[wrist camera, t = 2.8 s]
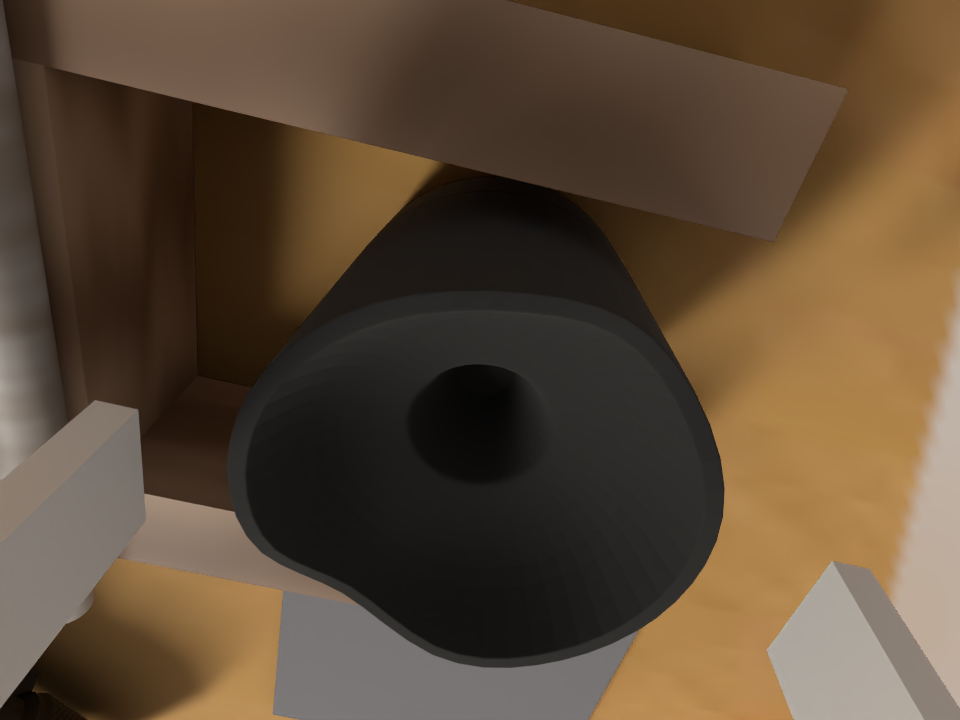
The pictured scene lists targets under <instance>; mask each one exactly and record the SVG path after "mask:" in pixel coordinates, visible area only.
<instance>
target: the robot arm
mask: <svg viewBox="0 0 960 720" xmlns="http://www.w3.org/2000/svg"><path fill="white" fill-rule="evenodd" d="M145 521H146V512H145V498H144V484H143V470H142V456H141V442H140V427H139V413H138V409H133V408H129V407H124V406H120V405H115V404H110V403H106V402H101V401H97V400H95V401H94V402H92V403H91V404H90V405H89V406H88V407H87V408H85V409H84V410H83V411H82V412H81V413H80V414H78V415H77V416H76V417H75V418H74V419H73V420H71V421H70V422H69V423H68V424H67V425H66V426H64V427H63V428H62V429H61V430H60V431H59V432H57V433H56V434H55V435H54V436H53V437H52V438H50V439H49V440H48V441H47V442H46V443H45V444H43V445H42V446H41V447H40V448H39V449H38V450H36V451H35V452H34V453H33V454H32V455H30V456H29V457H28V458H27V459H26V460H25V461H23V462H22V463H21V464H20V465H19V466H18V467H16V468H15V469H14V470H13V471H12V472H11V473H9V474H8V475H7V476H6V477H5V478H4V479H2V480H1V481H0V708H1V707H2V705H3V704H4V703H5V702H6V700H7V699H8V698H9V696H10V695H11V694H12V693H13V691H14V690H15V689H16V687H17V686H18V685H19V684H20V682H21V681H22V680H23V678H24V677H25V676H26V675H27V673H28V672H29V671H30V669H31V668H32V667H33V666H34V664H35V663H36V662H37V660H38V659H39V658H40V656H41V655H42V654H43V653H44V651H45V650H46V649H47V647H48V646H49V645H50V644H51V642H52V641H53V640H54V638H55V637H56V636H57V635H58V633H59V632H60V631H61V629H62V628H63V627H64V626H65V624H66V623H67V622H68V620H69V619H70V618H71V617H72V615H73V614H74V613H75V611H76V610H77V609H78V608H79V606H80V605H81V604H82V602H83V601H84V600H85V599H86V597H87V596H88V595H89V593H90V592H91V591H92V590H93V588H94V587H95V586H96V584H97V583H98V582H99V581H100V579H101V578H102V577H103V575H104V574H105V573H106V572H107V570H108V569H109V568H110V566H111V565H112V564H113V562H114V561H115V560H116V559H117V557H118V556H119V555H120V553H121V552H122V551H123V550H124V548H125V547H126V546H127V544H128V543H129V542H130V541H131V539H132V538H133V537H134V535H135V534H136V533H137V532H138V530H139V529H140V528H141V526H142V525H143V524H144V523H145ZM767 653H768V655H769V658H770V660H771V663H772V665H773V668H774V671H775V673H776V676H777V678H778V681H779V683H780V686H781V688H782V691H783V694H784V696H785V699H786V701H787V704H788V706H789V709H790V711H791V714H792V717H793V719H794V720H960V708H959V707H958V705H957V704H956V702H955V701H954V699H953V697H952V696H951V694H950V693H949V691H948V690H947V689H946V687H945V685H944V684H943V682H942V680H941V679H940V677H939V676H938V675H937V673H936V671H935V670H934V668H933V666H932V665H931V664H930V662H929V660H928V659H927V657H926V655H925V654H924V653H923V651H922V649H921V648H920V646H919V645H918V643H917V641H916V640H915V639H914V637H913V635H912V634H911V632H910V631H909V629H908V627H907V626H906V624H905V623H904V621H903V620H902V618H901V617H900V615H899V613H898V612H897V610H896V609H895V607H894V606H893V604H892V603H891V601H890V599H889V598H888V596H887V595H886V593H885V592H884V590H883V589H882V587H881V585H880V584H879V582H878V581H877V579H876V578H875V576H874V575H873V573H872V571H871V570H870V569H867V568H862V567H858V566H853V565H849V564H844V563H839V562H835V561H831V563H830V564H829V566H828V567H827V568H826V570H825V571H824V572H823V574H822V575H821V577H820V578H819V579H818V581H817V582H816V583H815V585H814V586H813V587H812V589H811V590H810V592H809V593H808V594H807V596H806V597H805V598H804V600H803V601H802V603H801V604H800V605H799V607H798V608H797V609H796V611H795V612H794V614H793V615H792V616H791V618H790V619H789V620H788V622H787V623H786V624H785V626H784V627H783V629H782V630H781V631H780V633H779V634H778V635H777V637H776V638H775V640H774V641H773V642H772V644H771V645H770V646H769V648H768V649H767Z"/></svg>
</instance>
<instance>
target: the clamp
mask: <svg viewBox="0 0 960 720" xmlns="http://www.w3.org/2000/svg"><path fill="white" fill-rule="evenodd" d="M847 91H848V89H847V88H843V87H839V86H835V85H831V84H828V83H824V82H820V81H816V80H812V79H808V78H804V77H801V76H797V75H793V74H789V73H785V72H781V71H777V70H774V69H770V68H766V67H762V66H758V65H754V64H750V63H747V62H743V61H739V60H735V59H731V58H727V57H723V56H720V55H716V54H712V53H708V52H704V51H700V50H696V49H693V48H689V47H685V46H681V45H677V44H673V43H669V42H666V41H662V40H658V39H654V38H650V37H646V36H642V35H639V34H635V33H631V32H627V31H623V30H619V29H616V28H612V27H608V26H604V25H600V24H596V23H592V22H589V21H585V20H581V19H577V18H573V17H569V16H565V15H562V14H558V13H554V12H550V11H546V10H542V9H538V8H535V7H531V6H527V5H523V4H519V3H515V2H511V1H508V0H0V481H1V480H2V479H4V478H5V477H6V476H7V475H8V474H9V473H11V472H12V471H13V470H14V469H15V468H16V467H18V466H19V465H20V464H21V463H22V462H23V461H25V460H26V459H27V458H28V457H29V456H30V455H32V454H33V453H34V452H35V451H36V450H38V449H39V448H40V447H41V446H42V445H43V444H45V443H46V442H47V441H48V440H49V439H50V438H52V437H53V436H54V435H55V434H56V433H57V432H59V431H60V430H61V429H62V428H63V427H64V426H66V425H67V424H68V423H69V422H70V421H71V420H73V419H74V418H75V417H76V416H77V415H78V414H80V413H81V412H82V411H83V410H84V409H85V408H87V407H88V406H89V405H90V404H91V403H92V402H94V401H95V400H97V401H101V402H106V403H110V404H115V405H120V406H124V407H129V408H133V409H138V413H139V427H140V442H141V456H142V470H143V484H144V498H145V512H146V521H145V523H144V524H143V525H142V526H141V528H140V529H139V530H138V532H137V533H136V534H135V535H134V537H133V538H132V539H131V541H130V542H129V543H128V544H127V546H126V547H125V548H124V550H123V551H122V552H121V553H120V555H119V556H118V557H117V558H121V559H126V560H131V561H136V562H141V563H146V564H151V565H157V566H162V567H167V568H172V569H177V570H182V571H187V572H192V573H197V574H202V575H207V576H212V577H218V578H223V579H228V580H233V581H238V582H243V583H248V584H253V585H258V586H263V587H268V588H273V589H279V590H284V591H289V592H294V593H299V594H304V595H309V596H314V597H319V598H324V599H329V600H335V601H340V602H345V603H350V604H355V605H359V604H357V603H356V602H354V601H353V600H352V599H350V598H349V597H347V596H346V595H344V594H343V593H341V592H339V591H337V590H335V589H333V588H331V587H329V586H327V585H325V584H323V583H321V582H319V581H316V580H314V579H311V578H309V577H307V576H304V575H302V574H300V573H297V572H295V571H293V570H291V569H289V568H286V567H284V566H282V565H280V564H278V563H277V562H275V561H274V560H272V559H270V558H269V557H267V556H266V555H264V554H262V553H261V552H260V551H259V550H258V548H257V547H256V546H255V545H254V544H253V543H252V542H251V541H250V540H249V539H248V537H247V536H246V534H245V533H244V531H243V529H242V527H241V525H240V523H239V521H238V520H237V518H236V515H235V512H234V508H233V505H232V501H231V498H230V495H229V486H228V475H227V462H228V450H229V442H230V438H231V434H232V431H233V427H234V423H235V419H236V417H237V415H238V413H239V411H240V408H241V406H242V404H243V402H244V400H245V398H246V396H247V394H248V392H249V391H250V390H251V388H252V387H247V386H242V385H238V384H233V383H229V382H224V381H219V380H215V379H210V378H205V377H201V376H197V331H196V279H195V227H194V176H193V124H192V102H196V103H200V104H205V105H209V106H213V107H217V108H221V109H225V110H229V111H233V112H238V113H242V114H246V115H250V116H254V117H258V118H262V119H267V120H271V121H275V122H279V123H283V124H287V125H291V126H295V127H300V128H304V129H308V130H312V131H316V132H320V133H324V134H329V135H333V136H337V137H341V138H345V139H349V140H353V141H357V142H362V143H366V144H370V145H374V146H378V147H382V148H386V149H391V150H395V151H399V152H403V153H407V154H411V155H415V156H420V157H424V158H428V159H432V160H436V161H440V162H444V163H448V164H453V165H457V166H461V167H465V168H469V169H473V170H477V171H482V172H486V173H490V174H494V175H498V176H502V177H506V178H510V179H515V180H519V181H523V182H527V183H531V184H535V185H539V186H544V187H548V188H552V189H556V190H560V191H564V192H568V193H572V194H577V195H581V196H585V197H589V198H593V199H597V200H601V201H606V202H610V203H614V204H618V205H622V206H626V207H630V208H634V209H639V210H643V211H647V212H651V213H655V214H659V215H663V216H668V217H672V218H676V219H680V220H684V221H688V222H692V223H697V224H701V225H705V226H709V227H713V228H717V229H721V230H725V231H730V232H734V233H738V234H742V235H746V236H750V237H754V238H759V239H763V240H767V241H771V242H774V240H775V238H776V236H777V234H778V232H779V230H780V228H781V226H782V224H783V222H784V220H785V218H786V216H787V214H788V212H789V210H790V208H791V206H792V204H793V202H794V199H795V197H796V195H797V193H798V191H799V189H800V187H801V185H802V183H803V181H804V179H805V177H806V175H807V173H808V171H809V169H810V167H811V165H812V163H813V161H814V159H815V157H816V154H817V152H818V150H819V148H820V146H821V144H822V142H823V140H824V138H825V136H826V134H827V132H828V130H829V128H830V126H831V124H832V122H833V120H834V118H835V116H836V114H837V112H838V109H839V107H840V105H841V103H842V101H843V99H844V97H845V95H846V93H847ZM94 599H95V592H94V588H93V590H92V591H91V592H90V593H89V595H88V596H87V597H86V599H85V600H84V601H83V602H82V604H81V605H80V606H79V608H78V609H77V610H76V611H75V613H74V614H73V615H72V617H71V618H70V619H69V620H68V622H67V623H70V622H72V621H74V620H76V619H78V618H80V617H81V616H82V615H84V614H85V613H86V612H87V611H88V610H89V609H90V607H91V606H92V604H93V602H94ZM67 623H66V624H67Z"/></svg>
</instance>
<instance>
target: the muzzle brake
mask: <svg viewBox="0 0 960 720" xmlns="http://www.w3.org/2000/svg"><path fill="white" fill-rule="evenodd" d="M38 675H39V673H37V672H36V671H35V670H33V669H32V668H31V669H30V671H29V672H28V673H27V675H26V676H25V677H24V678H23V680H22V681H21V682H20V684H19V685H18V686H17V687H16V689H15V690H14V691H13V693H12V694H11V695H10V696H9V698H8V699H7V700H6V702H5V703H4V704H3V705H2V707H1V708H0V720H87V719H86V718H84V717H83V716H81V715H80V714H78V713H77V712H75V711H74V710H72V709H71V708H70V707H68V706H67V705H65V704H64V703H62V702H61V701H59V700H58V699H56V698H55V697H53V696H52V695H51V694H48V693H36V692H33V691H32V690H33V687H34V685H35V682H36V680H37V677H38Z"/></svg>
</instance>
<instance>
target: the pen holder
mask: <svg viewBox="0 0 960 720" xmlns="http://www.w3.org/2000/svg"><path fill="white" fill-rule="evenodd" d="M227 475H228V486H229V495H230V498H231V501H232V505H233V508H234V512H235V515H236V518H237V520H238V521H239V523H240V525H241V527H242V529H243V531H244V533H245V534H246V536H247V537H248V539H249V540H250V541H251V542H252V543H253V544H254V545H255V546H256V547H257V548H258V550H259V551H260V552H261V553H262V554H264V555H266V556H267V557H269V558H270V559H272V560H274V561H275V562H277V563H278V564H280V565H282V566H284V567H286V568H289V569H291V570H293V571H295V572H297V573H300V574H302V575H304V576H307V577H309V578H311V579H314V580H316V581H319V582H321V583H323V584H325V585H327V586H329V587H331V588H333V589H335V590H337V591H339V592H341V593H343V594H344V595H346V596H347V597H349V598H350V599H352V600H353V601H354V602H356V603H357V604H359V605H360V606H362V607H363V608H364V609H366V610H367V611H368V612H370V613H371V614H372V615H374V616H375V617H376V618H377V619H379V620H380V621H381V622H383V623H384V624H385V625H387V626H388V627H389V628H391V629H392V630H394V631H395V632H396V633H398V634H399V635H401V636H402V637H403V638H405V639H406V640H407V641H409V642H411V643H413V644H414V645H416V646H418V647H420V648H421V649H423V650H425V651H427V652H428V653H430V654H432V655H434V656H437V657H440V658H443V659H446V660H449V661H452V662H455V663H458V664H464V665H471V666H477V667H484V668H515V667H524V666H534V665H541V664H546V663H551V662H557V661H562V660H566V659H569V658H573V657H576V656H580V655H583V654H587V653H590V652H592V651H595V650H597V649H600V648H603V647H605V646H608V645H610V644H613V643H615V642H617V641H619V640H621V639H623V638H624V637H626V636H628V635H630V634H632V633H634V632H636V631H637V630H639V629H641V628H642V627H644V626H645V625H647V624H648V623H650V622H651V621H653V620H654V619H656V618H657V617H658V616H659V615H661V614H662V613H663V612H664V611H665V610H666V609H668V608H669V607H670V606H671V605H672V604H674V603H675V602H676V601H677V600H678V599H679V597H680V596H681V595H682V594H683V593H684V592H685V591H686V590H687V589H688V588H689V587H690V585H691V584H692V583H693V582H694V580H695V579H696V577H697V576H698V574H699V573H700V571H701V570H702V568H703V567H704V566H705V564H706V562H707V560H708V558H709V556H710V554H711V552H712V550H713V547H714V545H715V543H716V541H717V537H718V533H719V529H720V526H721V522H722V518H723V506H724V481H723V474H722V466H721V459H720V455H719V452H718V449H717V446H716V442H715V439H714V436H713V433H712V429H711V426H710V424H709V422H708V419H707V417H706V415H705V413H704V411H703V409H702V406H701V404H700V402H699V400H698V398H697V396H696V393H695V391H694V389H693V387H692V386H691V384H690V382H689V380H688V378H687V377H686V375H685V373H684V371H683V369H682V368H681V366H680V364H679V362H678V360H677V359H676V357H675V355H674V353H673V351H672V350H671V348H670V346H669V344H668V343H667V341H666V339H665V337H664V335H663V334H662V332H661V330H660V328H659V326H658V325H657V323H656V321H655V319H654V317H653V316H652V314H651V312H650V310H649V308H648V307H647V305H646V303H645V301H644V300H643V298H642V296H641V294H640V292H639V291H638V289H637V287H636V285H635V283H634V282H633V280H632V278H631V276H630V275H629V273H628V271H627V269H626V268H625V266H624V265H623V263H622V262H621V260H620V258H619V256H618V255H617V253H616V252H615V250H614V248H613V247H612V245H611V244H610V242H609V241H608V239H607V238H606V236H605V235H604V233H603V232H602V230H601V229H600V228H599V227H598V226H597V225H596V223H595V222H594V221H593V220H592V219H591V218H590V217H589V216H588V215H587V214H586V213H585V212H584V211H582V210H581V209H580V208H579V207H578V206H576V205H575V204H574V203H572V202H571V201H569V200H568V199H566V198H564V197H563V196H561V195H560V194H558V193H556V192H554V191H551V190H549V189H547V188H545V187H543V186H539V185H535V184H531V183H527V182H523V181H519V180H515V179H510V178H505V177H481V178H472V179H465V180H461V181H457V182H453V183H449V184H446V185H444V186H441V187H439V188H436V189H434V190H431V191H429V192H427V193H426V194H424V195H422V196H420V197H419V198H417V199H415V200H414V201H413V202H411V203H410V204H409V205H407V206H406V207H405V208H403V209H402V210H401V211H400V212H399V213H398V214H397V215H396V216H395V217H394V218H393V219H392V220H391V221H390V222H389V223H388V224H387V225H386V226H385V227H384V228H383V229H382V230H381V231H380V232H379V233H378V235H377V236H376V237H375V238H374V239H373V240H372V241H371V242H370V243H369V244H368V245H367V246H366V248H365V249H364V250H363V251H362V252H361V254H360V255H359V256H358V257H357V258H356V260H355V261H354V262H353V263H352V264H351V266H350V267H349V268H348V269H347V270H346V272H345V273H344V274H343V275H342V276H341V278H340V279H339V280H338V281H337V282H336V284H335V285H334V286H333V287H332V289H331V290H330V291H329V292H328V293H327V295H326V296H325V297H324V298H323V299H322V301H321V302H320V303H319V304H318V305H317V307H316V308H315V309H314V310H313V311H312V313H311V314H310V315H309V316H308V317H307V319H306V320H305V321H304V322H303V323H302V325H301V326H300V327H299V328H298V329H297V331H296V332H295V333H294V334H293V335H292V337H291V338H290V339H289V340H288V341H287V343H286V344H285V345H284V346H283V348H282V349H281V350H280V351H279V352H278V354H277V355H276V356H275V357H274V358H273V360H272V361H271V362H270V363H269V365H268V366H267V367H266V368H265V370H264V371H263V372H262V374H261V375H260V377H259V378H258V380H257V381H256V382H255V384H254V385H253V387H252V388H251V390H250V391H249V392H248V394H247V396H246V398H245V400H244V402H243V404H242V406H241V408H240V411H239V413H238V415H237V417H236V419H235V423H234V427H233V431H232V434H231V438H230V442H229V450H228V462H227Z"/></svg>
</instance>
